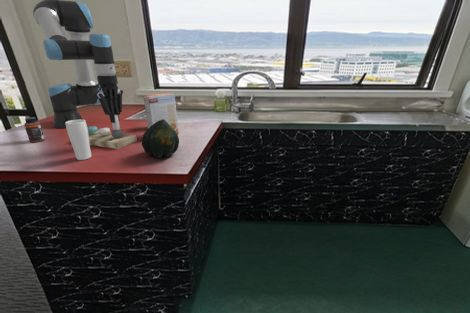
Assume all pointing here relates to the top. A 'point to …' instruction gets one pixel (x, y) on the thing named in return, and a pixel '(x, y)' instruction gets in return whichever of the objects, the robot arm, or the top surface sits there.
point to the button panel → (111, 140)
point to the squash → (160, 139)
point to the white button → (104, 131)
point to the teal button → (92, 129)
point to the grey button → (117, 133)
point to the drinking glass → (79, 138)
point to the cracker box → (161, 109)
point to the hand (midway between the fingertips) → (116, 129)
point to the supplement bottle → (33, 130)
